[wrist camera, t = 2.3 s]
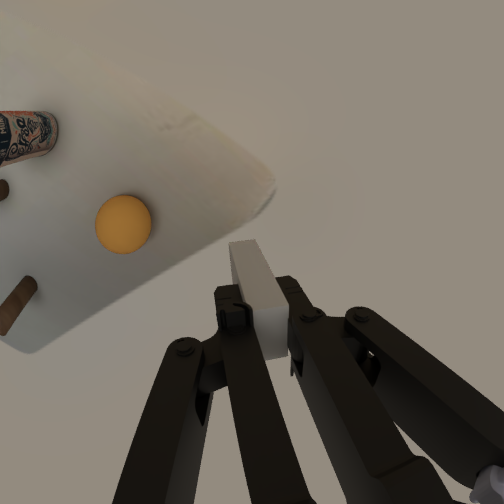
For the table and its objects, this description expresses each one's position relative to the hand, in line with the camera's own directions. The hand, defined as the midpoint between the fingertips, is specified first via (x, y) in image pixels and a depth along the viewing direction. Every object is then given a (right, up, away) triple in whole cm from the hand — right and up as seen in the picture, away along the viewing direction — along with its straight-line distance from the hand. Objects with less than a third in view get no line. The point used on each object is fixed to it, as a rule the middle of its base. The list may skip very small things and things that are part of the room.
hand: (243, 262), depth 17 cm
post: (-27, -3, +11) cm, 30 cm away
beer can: (-21, +13, +5) cm, 25 cm away
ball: (-12, +3, +8) cm, 15 cm away
